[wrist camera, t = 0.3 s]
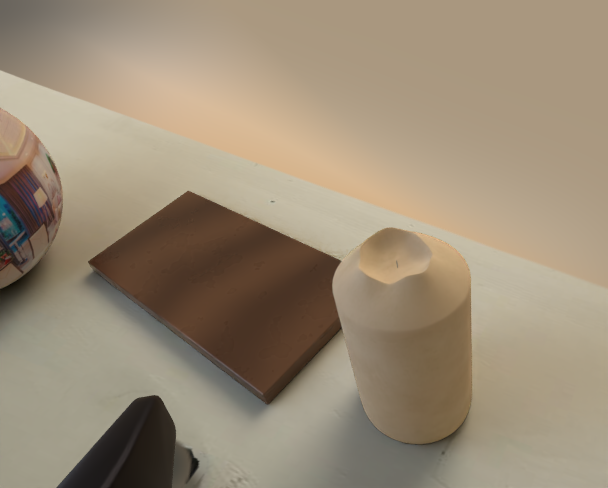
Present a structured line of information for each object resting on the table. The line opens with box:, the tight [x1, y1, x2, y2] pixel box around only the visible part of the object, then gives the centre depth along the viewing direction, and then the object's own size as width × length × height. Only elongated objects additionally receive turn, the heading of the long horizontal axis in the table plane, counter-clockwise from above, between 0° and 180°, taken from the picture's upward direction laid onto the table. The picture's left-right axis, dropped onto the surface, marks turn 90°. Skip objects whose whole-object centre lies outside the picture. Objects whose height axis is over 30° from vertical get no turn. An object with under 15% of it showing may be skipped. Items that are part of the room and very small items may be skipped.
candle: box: [332, 228, 472, 444], centre depth 23 cm, size 6×6×10 cm
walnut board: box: [88, 191, 342, 404], centre depth 36 cm, size 20×10×1 cm, turn 47°
